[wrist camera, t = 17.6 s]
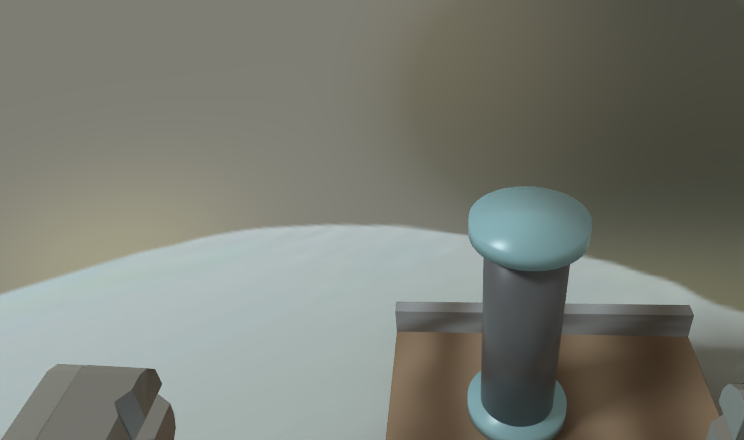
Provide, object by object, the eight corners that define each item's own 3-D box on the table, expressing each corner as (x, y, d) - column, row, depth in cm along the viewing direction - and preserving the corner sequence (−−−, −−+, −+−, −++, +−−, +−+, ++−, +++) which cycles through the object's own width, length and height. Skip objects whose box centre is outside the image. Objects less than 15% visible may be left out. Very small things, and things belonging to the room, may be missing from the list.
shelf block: (384, 535, 39) (376, 476, 35) (401, 359, 50) (396, 301, 46) (740, 556, 36) (770, 496, 32) (673, 365, 47) (689, 305, 44)
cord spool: (467, 446, 38) (468, 253, 30) (467, 369, 43) (468, 186, 35) (571, 451, 38) (601, 255, 29) (559, 373, 42) (582, 186, 34)
